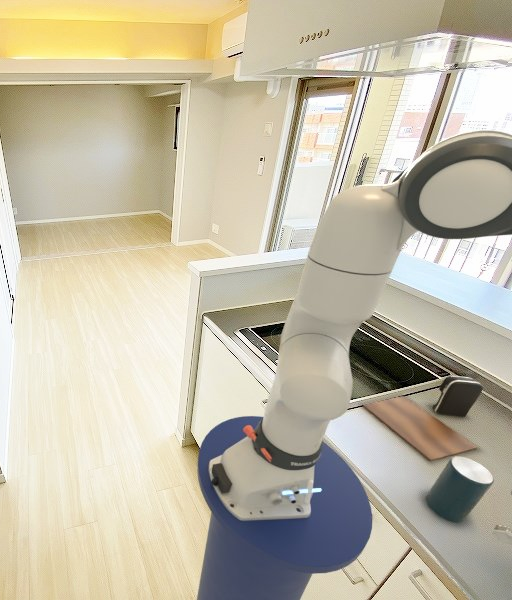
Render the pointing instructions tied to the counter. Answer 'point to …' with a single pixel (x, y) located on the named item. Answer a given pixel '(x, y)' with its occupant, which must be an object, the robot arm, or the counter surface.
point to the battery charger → (457, 396)
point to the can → (459, 489)
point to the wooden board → (419, 428)
